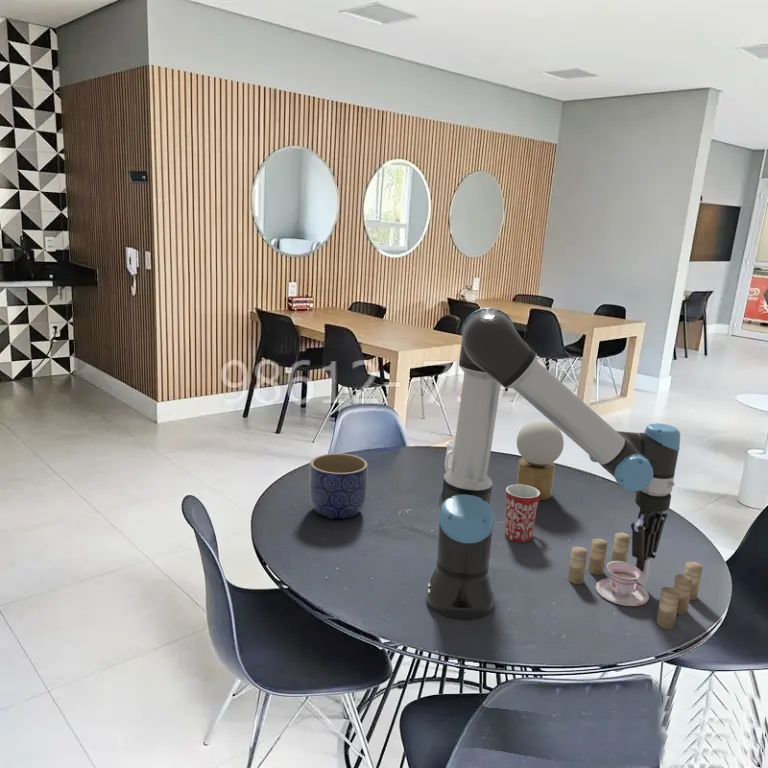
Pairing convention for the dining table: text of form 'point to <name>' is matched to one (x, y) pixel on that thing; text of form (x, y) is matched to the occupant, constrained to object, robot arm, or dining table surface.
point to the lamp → (538, 455)
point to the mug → (520, 512)
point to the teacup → (622, 585)
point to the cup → (449, 455)
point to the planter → (338, 484)
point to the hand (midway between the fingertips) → (640, 581)
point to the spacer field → (670, 597)
